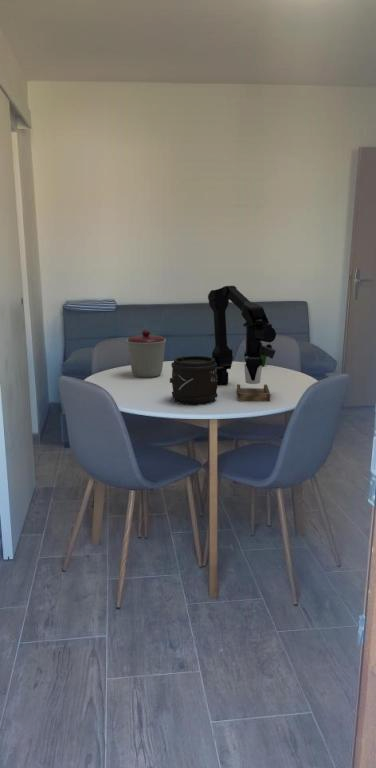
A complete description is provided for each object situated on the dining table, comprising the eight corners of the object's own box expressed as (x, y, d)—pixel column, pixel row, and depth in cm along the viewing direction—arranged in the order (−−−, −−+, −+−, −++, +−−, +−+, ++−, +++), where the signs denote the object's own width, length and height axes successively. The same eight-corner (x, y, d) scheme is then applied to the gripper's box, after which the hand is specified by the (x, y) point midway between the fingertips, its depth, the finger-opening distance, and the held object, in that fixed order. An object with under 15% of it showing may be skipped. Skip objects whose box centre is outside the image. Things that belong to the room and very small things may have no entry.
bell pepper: (264, 363, 295) (265, 344, 292) (267, 367, 287) (268, 346, 284) (248, 364, 294) (248, 344, 292) (250, 367, 286) (251, 347, 284)
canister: (151, 381, 257) (150, 333, 253) (119, 377, 267) (117, 330, 262) (174, 374, 272) (173, 328, 268) (142, 370, 282) (141, 326, 277)
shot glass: (260, 384, 227) (261, 366, 226) (243, 383, 229) (243, 366, 227) (262, 380, 234) (262, 363, 232) (245, 380, 235) (245, 362, 234)
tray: (238, 401, 223) (238, 393, 222) (236, 391, 238) (236, 384, 238) (270, 401, 222) (270, 394, 222) (266, 391, 238) (266, 384, 237)
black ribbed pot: (169, 394, 234) (168, 355, 230) (214, 393, 235) (214, 354, 231) (171, 406, 216) (170, 364, 213) (219, 405, 217) (219, 363, 214)
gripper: (276, 343, 218) (275, 384, 221) (272, 335, 236) (271, 373, 240) (246, 342, 218) (245, 383, 222) (244, 335, 237) (243, 373, 240)
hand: (252, 378), depth 231 cm, fingers closed on shot glass, 6 cm apart
